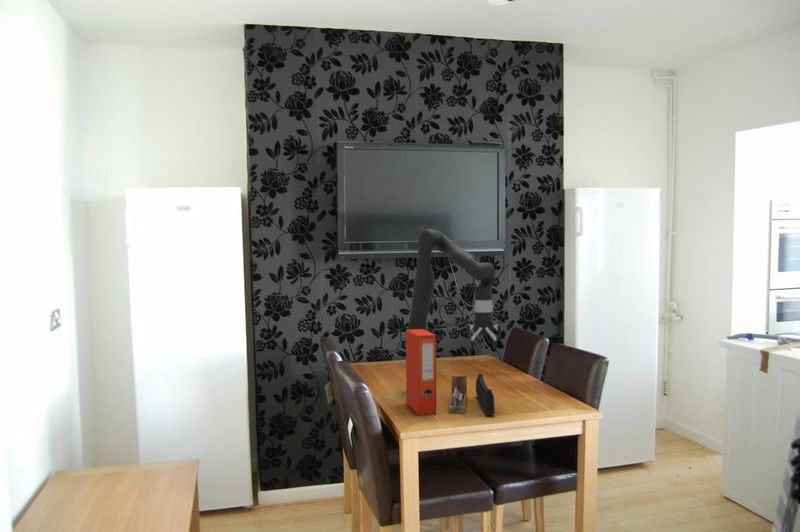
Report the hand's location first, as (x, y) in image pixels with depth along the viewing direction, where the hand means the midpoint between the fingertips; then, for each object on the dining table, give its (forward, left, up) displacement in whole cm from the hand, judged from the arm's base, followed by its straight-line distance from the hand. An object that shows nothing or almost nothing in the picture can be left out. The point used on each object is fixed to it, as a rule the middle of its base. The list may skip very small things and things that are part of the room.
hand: (483, 349), depth 238 cm
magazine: (0, 0, -24) cm, 24 cm away
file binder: (-26, -6, -24) cm, 36 cm away
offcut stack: (-11, 0, -24) cm, 26 cm away
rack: (-11, 0, -24) cm, 26 cm away
